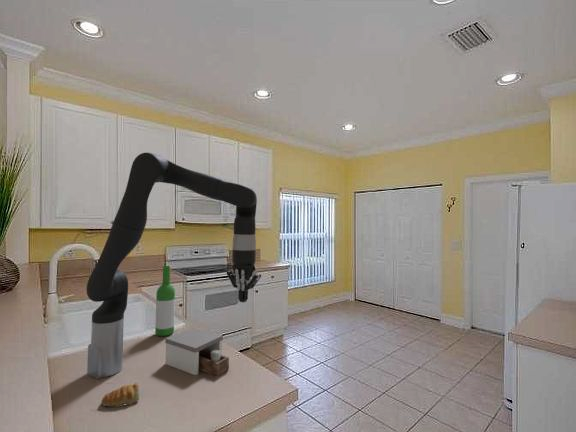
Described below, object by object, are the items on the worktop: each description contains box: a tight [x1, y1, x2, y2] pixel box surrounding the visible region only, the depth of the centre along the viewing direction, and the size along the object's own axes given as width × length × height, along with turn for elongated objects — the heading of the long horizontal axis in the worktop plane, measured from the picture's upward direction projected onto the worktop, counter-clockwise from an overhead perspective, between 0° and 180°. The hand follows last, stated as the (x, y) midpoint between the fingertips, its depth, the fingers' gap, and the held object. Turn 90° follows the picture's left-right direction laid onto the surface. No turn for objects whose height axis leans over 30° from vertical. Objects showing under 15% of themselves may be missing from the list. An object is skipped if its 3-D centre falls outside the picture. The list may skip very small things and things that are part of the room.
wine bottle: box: [154, 265, 176, 337], centre depth 135 cm, size 8×8×30 cm
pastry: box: [101, 382, 140, 407], centre depth 85 cm, size 9×7×4 cm
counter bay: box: [164, 327, 224, 376], centre depth 108 cm, size 13×15×9 cm
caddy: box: [198, 349, 230, 377], centre depth 106 cm, size 18×6×6 cm, turn 60°
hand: (242, 301), depth 98 cm, fingers closed
